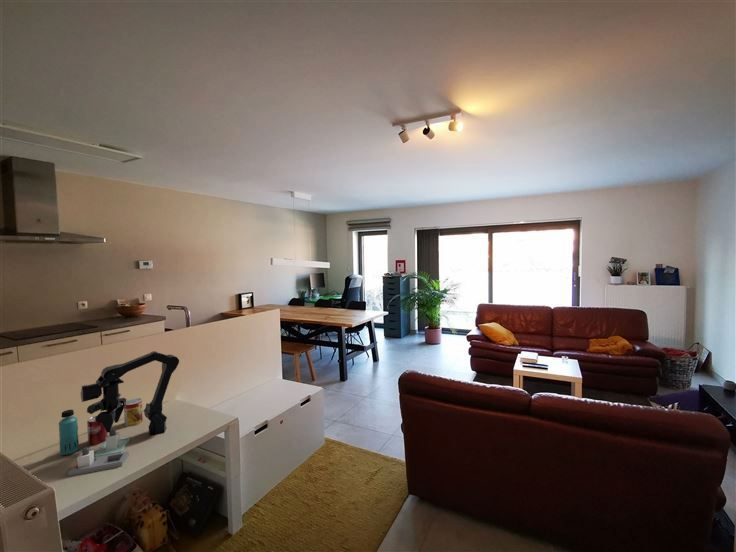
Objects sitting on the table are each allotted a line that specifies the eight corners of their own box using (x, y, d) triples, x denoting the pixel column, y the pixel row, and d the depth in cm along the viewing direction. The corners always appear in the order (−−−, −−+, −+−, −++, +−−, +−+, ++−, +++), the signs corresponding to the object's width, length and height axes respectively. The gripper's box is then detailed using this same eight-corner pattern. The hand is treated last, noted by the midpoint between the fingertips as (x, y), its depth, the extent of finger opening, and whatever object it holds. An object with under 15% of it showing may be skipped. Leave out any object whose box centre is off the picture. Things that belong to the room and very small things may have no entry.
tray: (105, 443, 154) (105, 440, 154) (130, 439, 157) (130, 436, 157) (93, 458, 142) (93, 456, 142) (120, 454, 145) (120, 451, 145)
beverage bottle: (62, 460, 141) (60, 415, 140) (57, 455, 144) (55, 412, 144) (81, 452, 146) (79, 409, 146) (76, 448, 150) (74, 406, 149)
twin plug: (94, 463, 137) (93, 444, 137) (90, 469, 134) (89, 449, 133) (82, 465, 136) (81, 446, 136) (78, 471, 132) (77, 451, 132)
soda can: (96, 447, 151) (95, 422, 150) (84, 445, 152) (82, 421, 151) (111, 439, 158) (110, 415, 157) (99, 437, 159) (98, 413, 159)
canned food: (145, 422, 174) (144, 400, 174) (127, 428, 168) (126, 405, 167) (139, 418, 179) (138, 397, 178) (122, 423, 172) (121, 402, 172)
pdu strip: (128, 456, 143) (128, 450, 143) (122, 467, 136) (121, 460, 136) (78, 465, 137) (78, 458, 137) (68, 477, 130) (68, 470, 129)
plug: (119, 444, 152) (119, 426, 152) (116, 448, 148) (116, 431, 148) (109, 445, 151) (109, 428, 150) (106, 450, 147) (105, 432, 147)
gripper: (98, 389, 154) (100, 420, 155) (79, 405, 137) (81, 441, 138) (126, 386, 158) (127, 416, 159) (111, 401, 141) (112, 436, 142)
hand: (112, 427), depth 149 cm, fingers open, 9 cm apart
